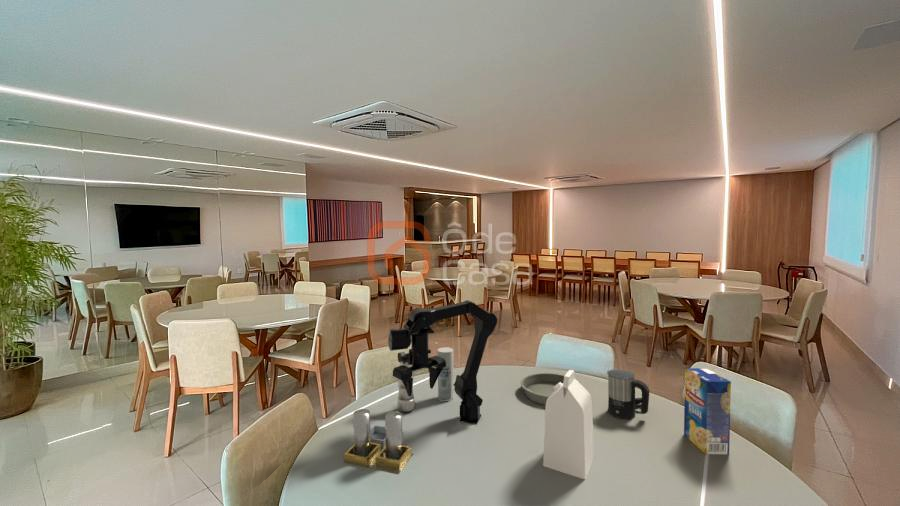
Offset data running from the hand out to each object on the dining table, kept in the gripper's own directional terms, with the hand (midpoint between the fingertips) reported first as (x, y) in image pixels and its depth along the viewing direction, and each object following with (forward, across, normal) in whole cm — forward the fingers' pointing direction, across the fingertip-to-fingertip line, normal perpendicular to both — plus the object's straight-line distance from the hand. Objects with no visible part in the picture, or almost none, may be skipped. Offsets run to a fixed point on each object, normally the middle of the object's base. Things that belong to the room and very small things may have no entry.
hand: (420, 392), depth 125 cm
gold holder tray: (+13, +20, +6) cm, 24 cm away
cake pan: (+13, -56, +14) cm, 60 cm away
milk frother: (+13, -65, +41) cm, 78 cm away
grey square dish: (+13, +14, -3) cm, 20 cm away
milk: (+13, -21, +43) cm, 50 cm away
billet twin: (+12, +23, +2) cm, 26 cm away
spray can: (+13, -22, -12) cm, 28 cm away
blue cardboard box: (+13, -60, +67) cm, 91 cm away
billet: (+12, +17, +9) cm, 22 cm away
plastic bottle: (+13, -4, -15) cm, 20 cm away
